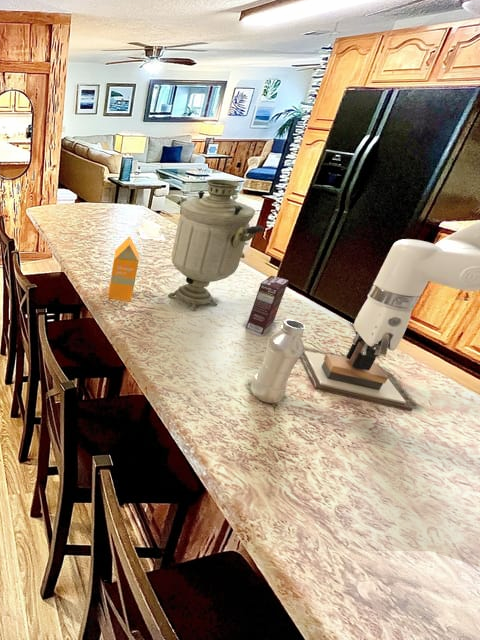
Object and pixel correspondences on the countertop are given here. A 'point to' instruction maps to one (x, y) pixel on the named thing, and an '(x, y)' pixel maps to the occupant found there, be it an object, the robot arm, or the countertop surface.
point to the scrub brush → (353, 370)
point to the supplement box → (266, 305)
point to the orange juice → (124, 271)
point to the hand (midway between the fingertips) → (357, 363)
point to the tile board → (320, 381)
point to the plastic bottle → (279, 362)
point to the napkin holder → (151, 231)
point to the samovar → (210, 240)
